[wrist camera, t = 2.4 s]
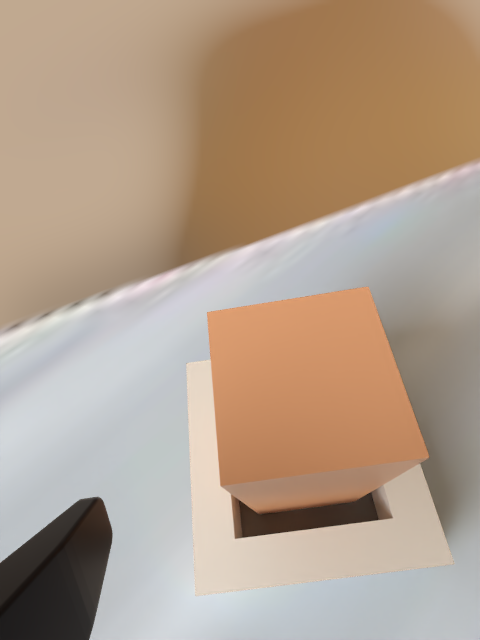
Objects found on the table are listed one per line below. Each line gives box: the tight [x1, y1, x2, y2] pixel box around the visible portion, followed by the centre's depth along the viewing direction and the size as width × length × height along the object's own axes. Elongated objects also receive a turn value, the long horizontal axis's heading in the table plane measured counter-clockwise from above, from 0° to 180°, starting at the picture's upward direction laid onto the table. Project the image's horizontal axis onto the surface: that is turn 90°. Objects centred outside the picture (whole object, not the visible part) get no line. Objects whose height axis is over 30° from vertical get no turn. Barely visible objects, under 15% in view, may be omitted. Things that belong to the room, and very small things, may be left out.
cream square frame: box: [186, 360, 454, 596], centre depth 16 cm, size 9×9×2 cm
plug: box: [207, 287, 430, 515], centre depth 12 cm, size 4×4×10 cm
